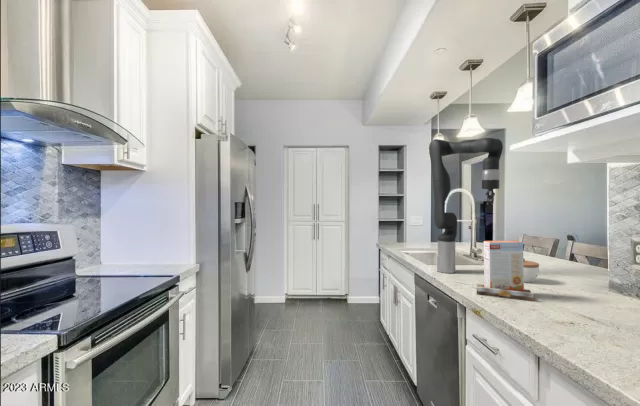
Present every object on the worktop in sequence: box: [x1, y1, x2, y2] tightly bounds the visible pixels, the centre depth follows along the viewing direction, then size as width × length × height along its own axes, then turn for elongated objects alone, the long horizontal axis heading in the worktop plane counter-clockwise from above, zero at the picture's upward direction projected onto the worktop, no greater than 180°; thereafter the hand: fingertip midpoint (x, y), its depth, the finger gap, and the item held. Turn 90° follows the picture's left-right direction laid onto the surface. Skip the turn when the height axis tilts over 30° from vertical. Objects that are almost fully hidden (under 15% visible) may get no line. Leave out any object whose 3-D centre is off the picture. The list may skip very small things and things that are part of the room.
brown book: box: [476, 283, 535, 302], centre depth 131 cm, size 20×12×3 cm, turn 62°
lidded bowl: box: [523, 257, 540, 284], centre depth 153 cm, size 13×13×11 cm
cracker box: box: [483, 240, 525, 291], centre depth 132 cm, size 14×6×21 cm, turn 87°
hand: (489, 212), depth 151 cm, fingers open, 8 cm apart
